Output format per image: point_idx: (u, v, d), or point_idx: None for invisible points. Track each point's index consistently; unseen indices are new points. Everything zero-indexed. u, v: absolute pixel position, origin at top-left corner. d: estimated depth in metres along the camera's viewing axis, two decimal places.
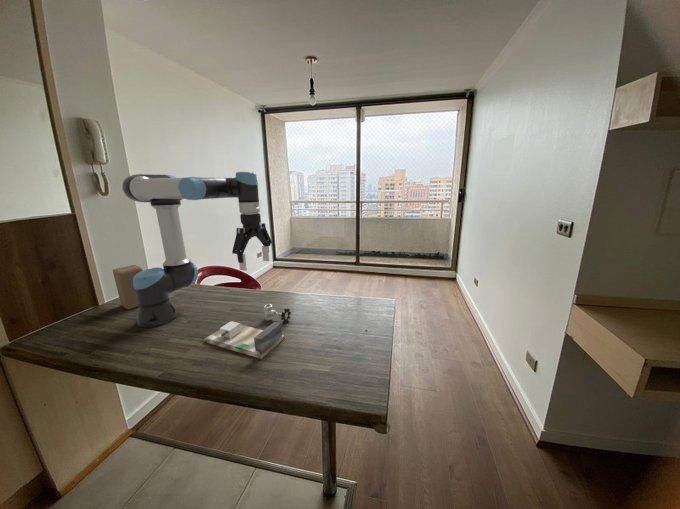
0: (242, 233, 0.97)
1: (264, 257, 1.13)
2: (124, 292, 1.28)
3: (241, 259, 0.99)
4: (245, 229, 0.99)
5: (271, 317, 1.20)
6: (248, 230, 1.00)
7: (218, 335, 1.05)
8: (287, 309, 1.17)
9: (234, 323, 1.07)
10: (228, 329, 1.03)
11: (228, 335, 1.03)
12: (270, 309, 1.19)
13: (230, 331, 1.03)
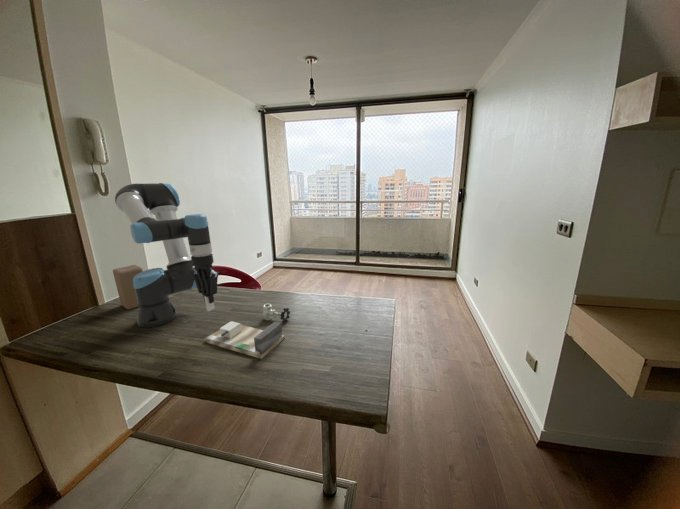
0: (193, 275, 1.05)
1: None
2: (124, 292, 1.28)
3: (205, 299, 1.06)
4: (195, 269, 1.04)
5: (270, 317, 1.20)
6: (196, 269, 1.03)
7: (218, 335, 1.05)
8: (286, 309, 1.18)
9: (234, 323, 1.07)
10: (228, 329, 1.03)
11: (228, 335, 1.03)
12: (269, 309, 1.19)
13: (230, 331, 1.03)
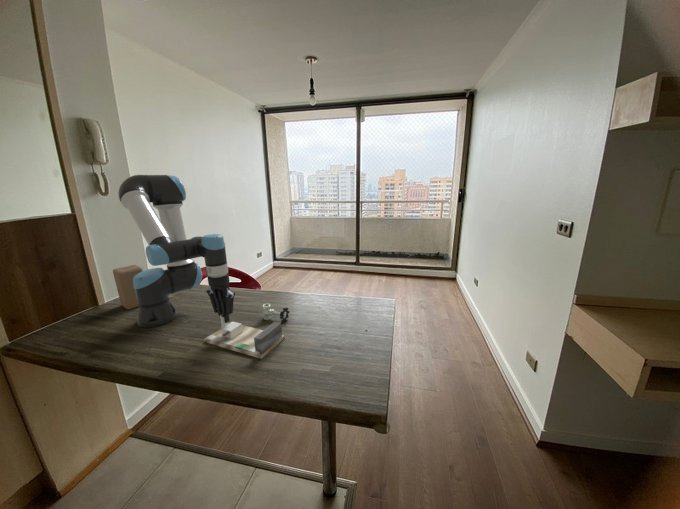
0: (209, 294, 1.04)
1: None
2: (124, 292, 1.28)
3: (220, 318, 1.06)
4: (211, 289, 1.03)
5: (269, 316, 1.20)
6: (212, 289, 1.03)
7: (218, 335, 1.05)
8: None
9: (235, 323, 1.07)
10: (229, 329, 1.03)
11: (229, 335, 1.03)
12: (268, 308, 1.19)
13: (231, 331, 1.02)
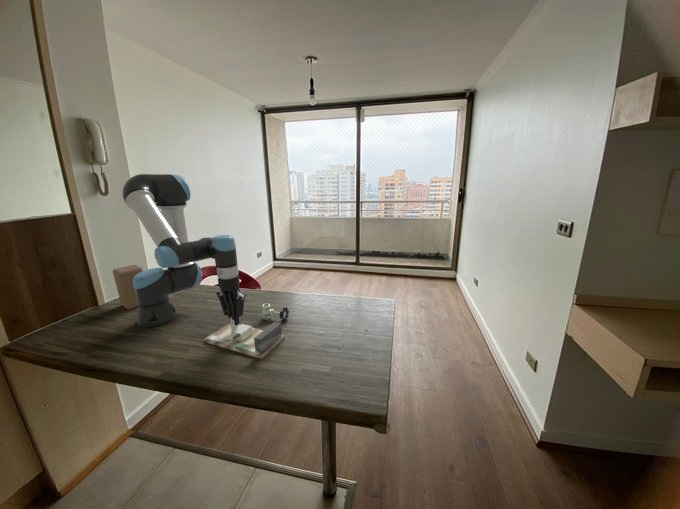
0: (219, 296, 1.02)
1: None
2: (124, 292, 1.28)
3: None
4: (221, 291, 1.01)
5: (269, 316, 1.20)
6: (222, 291, 1.01)
7: (218, 335, 1.05)
8: (285, 308, 1.19)
9: (245, 326, 1.05)
10: (240, 332, 1.01)
11: (240, 338, 1.01)
12: (268, 308, 1.19)
13: (242, 334, 1.00)
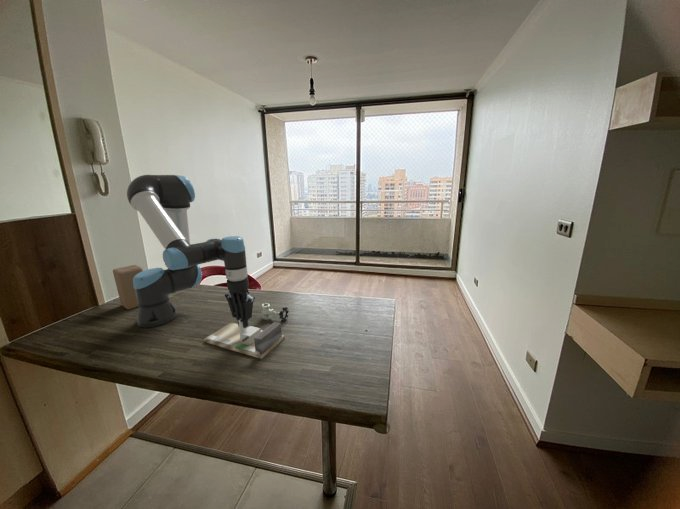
0: (227, 298, 1.00)
1: None
2: (124, 292, 1.28)
3: (238, 323, 1.02)
4: (229, 293, 1.00)
5: (269, 316, 1.20)
6: (231, 293, 0.99)
7: (218, 335, 1.05)
8: (285, 308, 1.19)
9: (254, 328, 1.03)
10: (248, 334, 0.99)
11: (248, 340, 0.99)
12: (268, 308, 1.19)
13: (250, 336, 0.99)
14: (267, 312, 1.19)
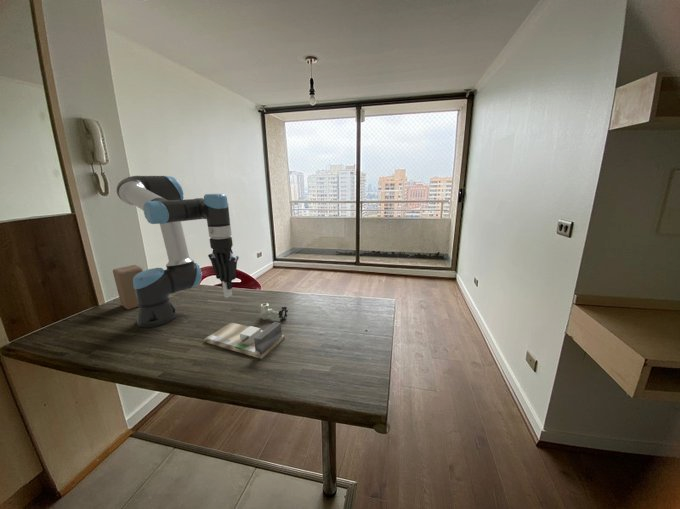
0: (211, 259, 0.99)
1: None
2: (124, 292, 1.28)
3: (222, 285, 1.01)
4: (213, 253, 0.98)
5: (268, 316, 1.21)
6: (214, 253, 0.97)
7: (218, 335, 1.05)
8: (284, 307, 1.19)
9: (254, 328, 1.03)
10: (248, 334, 0.99)
11: (248, 340, 0.99)
12: (267, 308, 1.20)
13: (251, 336, 0.99)
14: (266, 312, 1.19)
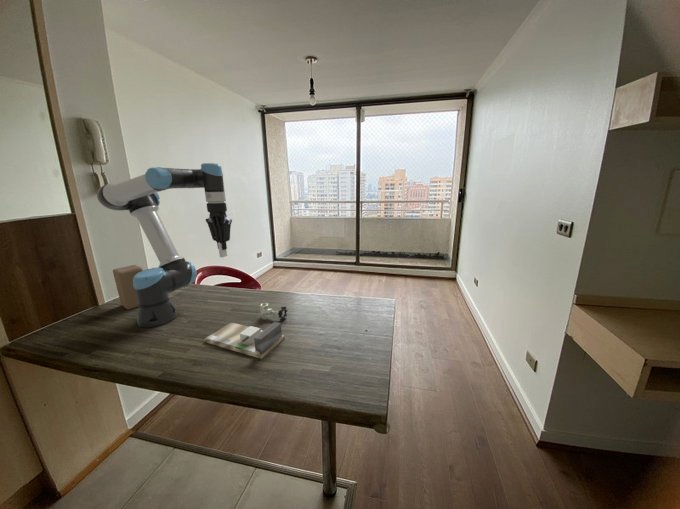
0: (208, 222, 1.12)
1: None
2: (124, 292, 1.28)
3: (218, 246, 1.14)
4: (210, 217, 1.12)
5: (267, 316, 1.21)
6: (211, 217, 1.11)
7: (218, 335, 1.05)
8: (284, 307, 1.19)
9: (254, 328, 1.03)
10: (248, 334, 0.99)
11: (248, 340, 0.99)
12: (266, 308, 1.20)
13: (251, 336, 0.99)
14: (266, 312, 1.19)
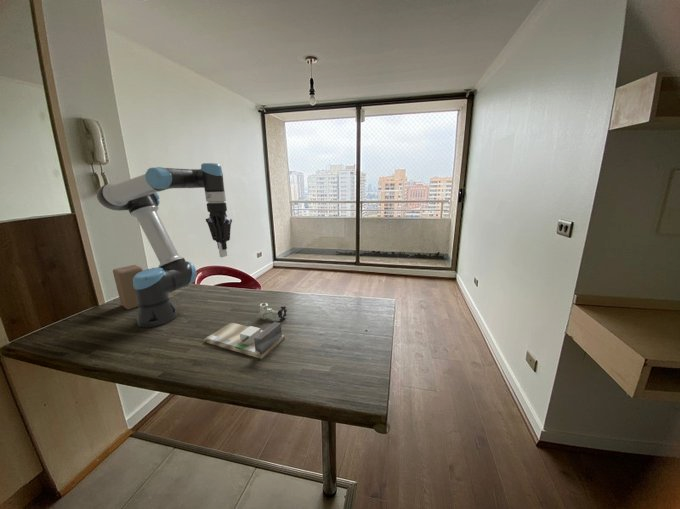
0: (208, 222, 1.13)
1: None
2: (124, 292, 1.28)
3: None
4: (210, 217, 1.12)
5: (267, 316, 1.21)
6: (211, 216, 1.11)
7: (218, 335, 1.05)
8: (283, 307, 1.20)
9: (254, 328, 1.03)
10: (248, 334, 0.99)
11: (248, 340, 0.99)
12: (266, 308, 1.20)
13: (251, 336, 0.99)
14: (265, 311, 1.20)
